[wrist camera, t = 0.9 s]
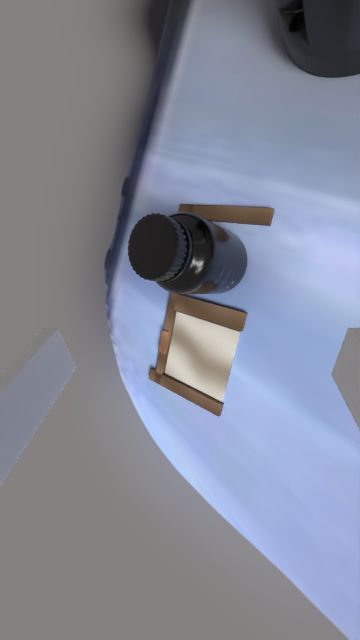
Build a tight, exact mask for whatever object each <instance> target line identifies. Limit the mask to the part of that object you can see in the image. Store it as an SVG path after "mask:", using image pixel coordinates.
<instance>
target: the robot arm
mask: <svg viewBox="0 0 360 640" xmlns="http://www.w3.org/2000/svg"><path fill="white" fill-rule="evenodd" d="M276 8H277V17H278V22H279V26H280V31H281V35H282V39H283V43H284V46H285V49H286V51H287V53H288V55H289V56H290V58H291V59H292V60H293V61H294V62H295V63H296V64H297V65H298V66H299V67H300V68H302V69H303V70H305V71H307V72H309V73H312V74H315V75H319V76H326V77H341V76H349V75H355V74H359V73H360V0H276ZM75 369H76V366H75V364H74V362H73V360H72V357H71V355H70V353H69V351H68V349H67V346H66V344H65V342H64V340H63V338H62V336H61V334H60V331H59V329H58V328H44V329H43V330H42V331H41V332H40V333H39V334H38V335H37V336H36V337H35V338H34V339H33V340H32V341H31V342H30V343H29V344H28V345H27V346H26V348H24V350H23V351H22V352H21V353H20V354H19V355H18V356H17V357H16V358H15V359H14V360H13V361H12V362H11V363H10V364H9V365H8V366H7V367H6V368H5V369H4V370H3V371H2V372H1V373H0V486H1V485H2V483H3V482H4V480H5V478H6V477H7V475H8V474H9V472H10V471H11V469H12V468H13V466H14V464H15V463H16V461H17V460H18V458H19V457H20V455H21V454H22V452H23V450H24V449H25V447H26V446H27V444H28V443H29V441H30V440H31V438H32V436H33V435H34V433H35V432H36V430H37V428H38V427H39V426H40V424H41V422H42V421H43V419H44V418H45V416H46V415H47V413H48V411H49V410H50V408H51V407H52V405H53V404H54V402H55V401H56V399H57V397H58V396H59V394H60V393H61V391H62V390H63V388H64V387H65V385H66V383H67V382H68V380H69V379H70V377H71V376H72V374H73V372H74V371H75ZM331 375H332V377H333V379H334V381H335V383H336V385H337V387H338V389H339V391H340V392H341V394H342V396H343V398H344V400H345V402H346V404H347V406H348V408H349V410H350V412H351V414H352V416H353V418H354V420H355V422H356V424H357V426H358V428H359V430H360V328H348V330H347V333H346V336H345V339H344V341H343V344H342V347H341V350H340V352H339V355H338V358H337V360H336V363H335V366H334V369H333V371H332V374H331Z"/></svg>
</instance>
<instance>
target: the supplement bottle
mask: <svg viewBox="0 0 360 640" xmlns="http://www.w3.org/2000/svg"><path fill="white" fill-rule="evenodd" d="M128 255H129V261H130V263H131V266H132V267H133V270H134V271H135V272H136V274H138V275H139V276H140V277H142V278H144V279H145V280H150V281H155V282H156V283H157V284H158V285H159V286H160V287H162V288H163V289H164V290H166V291H168V292H171V293H175V294H217V293H223V292H227V291H229V290H231V289H232V288H234V287H235V286H236V285H237V284H238V283H239V282H240V281H241V279H242V278H243V276H244V274H245V271H246V268H247V253H246V249H245V247H244V245H243V243H242V242H241V240H240V239H239V238H238V237H237V236H235V235H234V234H232V233H230V232H229V231H227V230H225V229H223V228H221V227H219V226H217V225H216V224H214V223H212V222H210V221H208V220H206V219H204V218H202V217H200V216H198V215H196V214H193V213H189V212H179V213H175V214H172V215H170V216H165V215H162V214H159V213H158V214H154V213H152V214H151V215H147V216H146V217H143V218H142V219H141V220H139V221H138V223H137V224H136V225H135V227H134V229H133V230H132V233H131V235H130V239H129V246H128Z"/></svg>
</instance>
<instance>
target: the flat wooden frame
mask: <svg viewBox="0 0 360 640" xmlns="http://www.w3.org/2000/svg"><path fill="white" fill-rule="evenodd" d="M179 212H189V213H193V214H196V215H198V216H200V217H202V218H204V219H206V220H208V221H216V222H228V223H241V224H253V225H265V226H270V225H271V221H272V217H273V214H274V209H273V208H258V207H235V206H212V205H190V204H180V208H179ZM176 310H177V313H176ZM178 311H180V312H178ZM181 312H183V313H181ZM184 313H186V314H184ZM187 314H189V315H187ZM175 315H176V318H175ZM190 315H192V316H190ZM193 316H195V317H193ZM196 317H198V318H196ZM246 317H247V313H245V312H242V311H238V310H235V309H231V308H227V307H224V306H220V305H217V304H213V303H209V302H206V301H202V300H199V299H195V298H192V297H188V296H184V295H181V294H175V293H170V298H169V304H168V309H167V314H166V320H165V325H164V330H162V334H161V339H160V344H159V350H158V352H159V357H158V362H157V368H156V369H155V368H151V369H150V373H149V379H150V380H152V381H154V382H156V383H158V384H160V385H161V386H163V387H165V388H167V389H169V390H171V391H172V392H174V393H176V394H178V395H180V396H182V397H183V398H185V399H187V400H189V401H191V402H193V403H195V404H196V405H198V406H200V407H202V408H204V409H206V410H207V411H209V412H211V413H213V414H215V415H217V416H218V417H219V416H220V415H221V412H222V408H223V404H224V403H222V401H223V398H224V394H225V390H226V386H227V382H228V378H229V375H230V371H231V367H232V363H233V359H234V355H235V352H236V348H237V344H238V340H239V336H240V332H239V331H243V328H244V324H245V320H246ZM200 318H201V319H200ZM203 319H204V320H203ZM174 320H175V323H174ZM206 320H207V321H206ZM209 321H211V322H209ZM212 322H214V323H212ZM215 323H217V324H215ZM218 324H220V325H218ZM173 325H174V328H173ZM221 325H223V326H221ZM224 326H226V327H224ZM227 327H229V328H227ZM230 328H232V329H230ZM233 329H235V330H233ZM236 330H238V331H236ZM172 331H173V333H172ZM171 336H172V338H171ZM170 341H171V343H170ZM169 346H170V348H169ZM168 351H169V353H168ZM167 356H168V358H167ZM166 361H167V363H166ZM165 366H166V369H165ZM164 371H165V373H166V374H165V373H164ZM167 374H168V375H167ZM169 375H170V376H169ZM171 376H172V377H171ZM173 377H174V378H176V379H178V380H180V381H182V382H184V383H186V384H188V385H190V386H192V387H194V388H196V389H198V390H200V391H202V392H204V393H206V394H208V395H210V396H212V397H214V398H216V399H217V400H216V399H214V398H212V397H210V396H208V395H206V394H204V393H202V392H200V391H198V390H196V389H194V388H192V387H190V386H188V385H186V384H184V383H182V382H180V381H178V380H176V379H174V378H173ZM218 400H219V401H218ZM220 401H221V402H220Z"/></svg>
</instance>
